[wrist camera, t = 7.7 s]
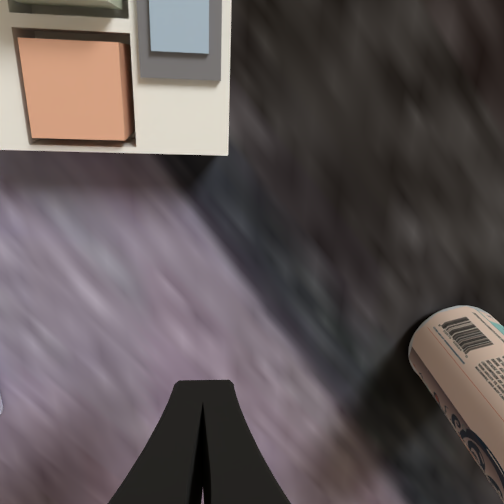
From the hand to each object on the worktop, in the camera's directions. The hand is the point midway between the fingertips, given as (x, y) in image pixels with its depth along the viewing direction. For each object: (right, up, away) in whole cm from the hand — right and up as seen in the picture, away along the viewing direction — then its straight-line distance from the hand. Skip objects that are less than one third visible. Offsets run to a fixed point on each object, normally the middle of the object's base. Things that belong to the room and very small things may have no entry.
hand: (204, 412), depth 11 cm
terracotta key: (-5, +10, +6) cm, 12 cm away
